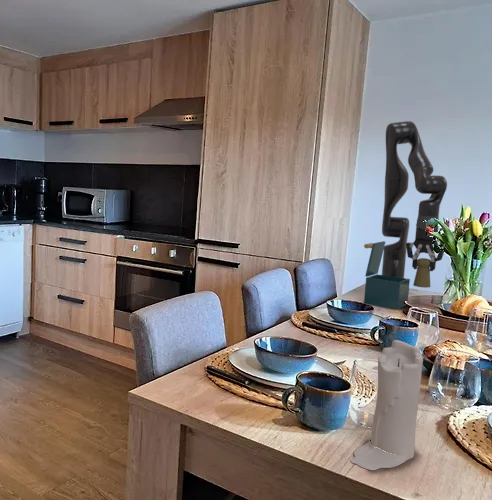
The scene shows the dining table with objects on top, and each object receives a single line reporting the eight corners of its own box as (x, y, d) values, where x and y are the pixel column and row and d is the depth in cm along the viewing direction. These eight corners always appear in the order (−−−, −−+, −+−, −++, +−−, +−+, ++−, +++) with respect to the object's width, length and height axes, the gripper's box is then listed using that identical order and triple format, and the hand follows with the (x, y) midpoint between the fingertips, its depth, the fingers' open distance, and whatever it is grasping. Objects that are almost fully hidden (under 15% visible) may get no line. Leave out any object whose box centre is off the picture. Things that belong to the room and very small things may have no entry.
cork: (426, 284, 202) (428, 257, 201) (433, 287, 196) (436, 260, 195) (410, 283, 203) (413, 257, 201) (417, 287, 197) (419, 259, 195)
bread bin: (407, 305, 202) (409, 278, 201) (397, 309, 195) (400, 282, 193) (374, 299, 211) (376, 274, 210) (363, 303, 204) (365, 277, 202)
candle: (341, 457, 90) (349, 349, 87) (383, 435, 98) (392, 336, 95) (379, 477, 84) (389, 362, 81) (421, 452, 92) (432, 346, 89)
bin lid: (385, 241, 206) (373, 238, 210) (375, 243, 199) (362, 240, 202) (377, 273, 210) (365, 270, 213) (367, 276, 202) (354, 273, 205)
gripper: (450, 228, 194) (446, 271, 196) (410, 225, 204) (407, 266, 206) (445, 229, 188) (440, 273, 191) (404, 226, 199) (400, 268, 201)
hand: (423, 269), depth 199 cm, fingers closed on cork, 5 cm apart
